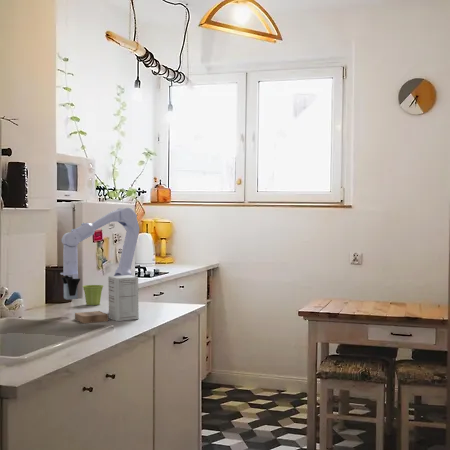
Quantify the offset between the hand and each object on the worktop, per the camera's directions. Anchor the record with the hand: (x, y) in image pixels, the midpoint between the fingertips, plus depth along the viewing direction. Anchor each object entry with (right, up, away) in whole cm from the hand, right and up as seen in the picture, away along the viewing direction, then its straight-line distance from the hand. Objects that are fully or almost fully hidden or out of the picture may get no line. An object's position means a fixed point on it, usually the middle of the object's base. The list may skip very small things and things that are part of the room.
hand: (70, 294), depth 256 cm
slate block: (0, -2, 0) cm, 2 cm away
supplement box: (+23, -9, -8) cm, 26 cm away
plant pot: (+3, -8, +31) cm, 32 cm away
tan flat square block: (+11, -9, -12) cm, 18 cm away
